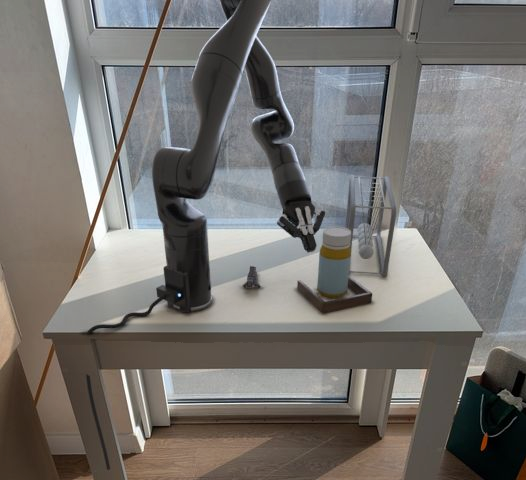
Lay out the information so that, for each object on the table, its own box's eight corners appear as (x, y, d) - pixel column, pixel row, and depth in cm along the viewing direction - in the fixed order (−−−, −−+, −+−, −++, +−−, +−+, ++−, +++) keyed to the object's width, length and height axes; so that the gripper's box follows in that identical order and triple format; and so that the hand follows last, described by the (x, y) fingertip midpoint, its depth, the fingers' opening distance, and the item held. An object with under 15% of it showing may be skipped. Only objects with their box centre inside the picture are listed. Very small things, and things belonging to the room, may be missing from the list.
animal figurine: (246, 279, 128) (246, 259, 126) (263, 280, 128) (264, 260, 125) (239, 293, 117) (239, 272, 115) (258, 294, 117) (258, 273, 115)
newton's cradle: (386, 280, 125) (397, 209, 115) (343, 277, 127) (351, 207, 117) (379, 235, 150) (388, 174, 140) (344, 233, 151) (350, 172, 141)
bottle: (350, 289, 121) (357, 229, 113) (339, 301, 116) (346, 239, 107) (324, 283, 124) (328, 223, 115) (312, 294, 119) (316, 233, 110)
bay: (296, 289, 121) (297, 280, 119) (342, 280, 125) (343, 271, 124) (322, 313, 111) (323, 303, 110) (371, 303, 115) (372, 293, 114)
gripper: (271, 181, 120) (292, 248, 117) (320, 175, 124) (342, 240, 122) (262, 197, 127) (282, 261, 124) (309, 191, 131) (329, 253, 129)
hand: (311, 250), depth 123 cm, fingers closed
